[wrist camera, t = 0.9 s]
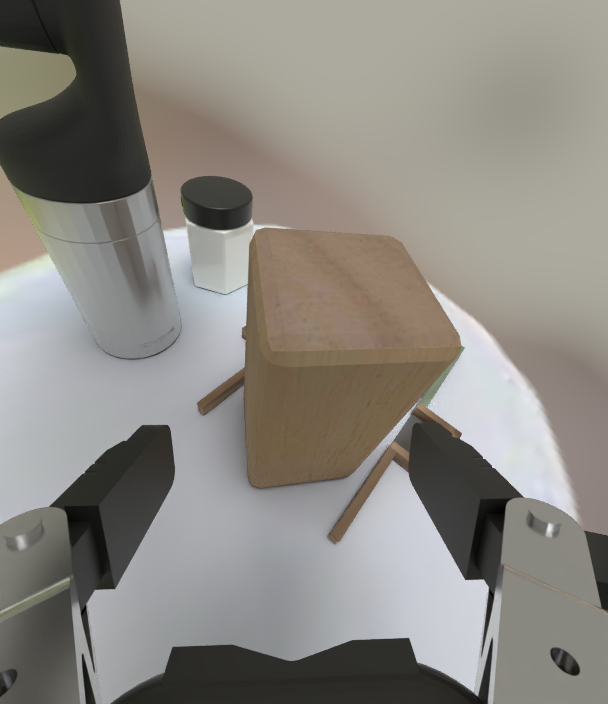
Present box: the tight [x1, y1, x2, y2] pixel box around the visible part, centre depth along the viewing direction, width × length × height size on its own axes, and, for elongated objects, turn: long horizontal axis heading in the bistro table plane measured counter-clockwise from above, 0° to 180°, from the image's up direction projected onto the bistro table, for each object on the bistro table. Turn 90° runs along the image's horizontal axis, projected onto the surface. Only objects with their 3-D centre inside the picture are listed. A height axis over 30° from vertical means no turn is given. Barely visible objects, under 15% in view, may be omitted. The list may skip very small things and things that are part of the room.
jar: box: [181, 176, 253, 294], centre depth 40 cm, size 9×8×12 cm
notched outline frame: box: [197, 326, 464, 543], centre depth 36 cm, size 26×30×2 cm
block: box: [244, 228, 461, 488], centre depth 24 cm, size 10×10×20 cm
